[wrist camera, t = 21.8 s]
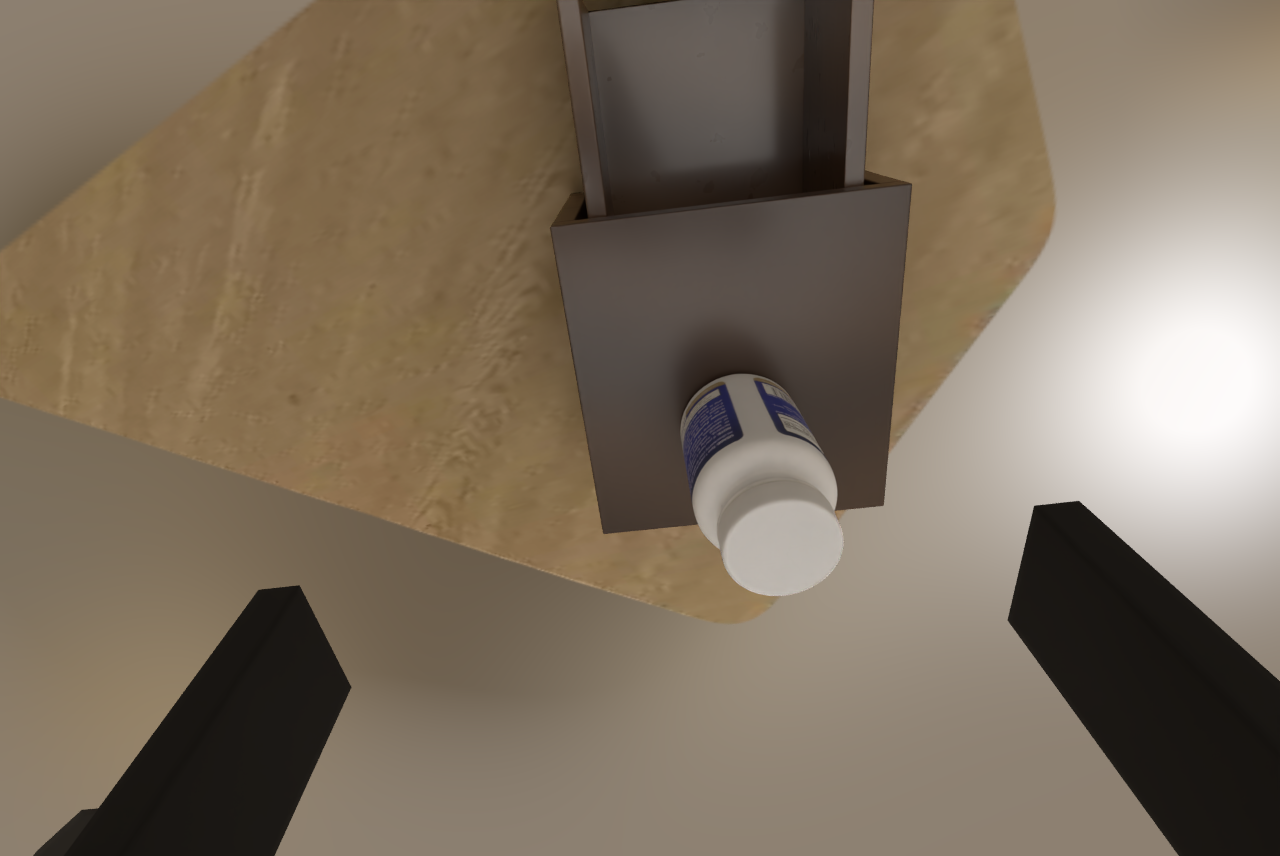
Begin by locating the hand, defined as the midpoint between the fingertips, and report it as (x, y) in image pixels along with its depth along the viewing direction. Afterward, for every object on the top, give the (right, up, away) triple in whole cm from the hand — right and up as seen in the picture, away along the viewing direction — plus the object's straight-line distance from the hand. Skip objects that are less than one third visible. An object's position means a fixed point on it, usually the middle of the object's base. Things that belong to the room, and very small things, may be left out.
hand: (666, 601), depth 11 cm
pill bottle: (+4, +3, +17) cm, 17 cm away
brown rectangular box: (+4, +10, +24) cm, 26 cm away
